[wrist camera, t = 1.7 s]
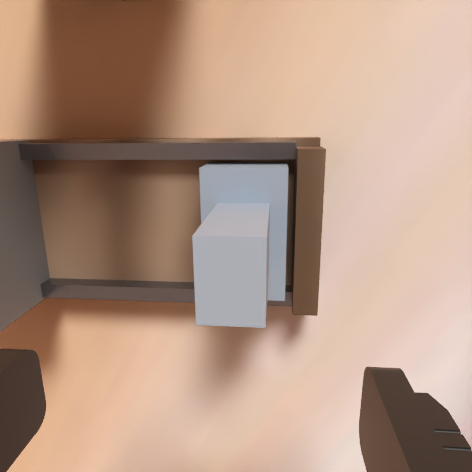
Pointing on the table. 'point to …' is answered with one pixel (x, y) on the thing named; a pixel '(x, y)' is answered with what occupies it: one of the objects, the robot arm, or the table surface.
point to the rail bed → (164, 215)
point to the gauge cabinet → (19, 236)
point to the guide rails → (147, 151)
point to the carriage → (240, 243)
